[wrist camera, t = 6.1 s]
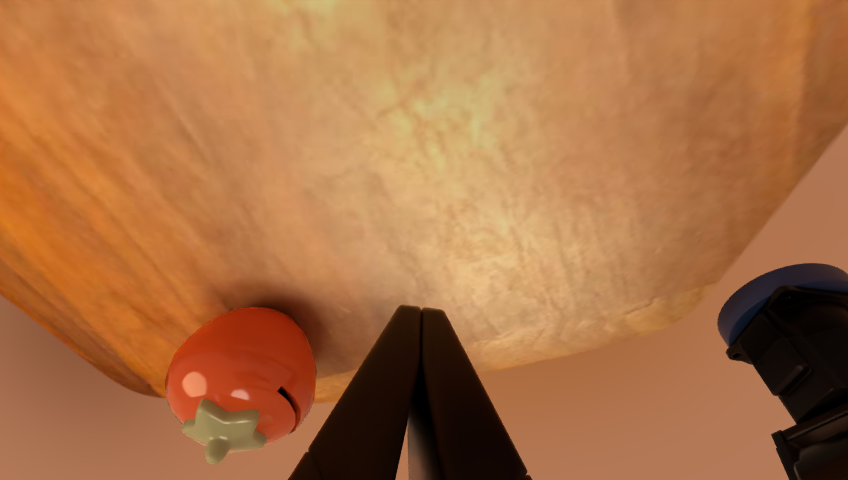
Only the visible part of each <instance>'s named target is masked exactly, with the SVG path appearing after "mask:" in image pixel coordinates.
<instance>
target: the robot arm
mask: <svg viewBox="0 0 848 480" xmlns="http://www.w3.org/2000/svg"><path fill="white" fill-rule="evenodd" d="M726 355H727V356H728V358H729V359H730V360H735V361H744V362H751V363H752V365H753V366H754V367H755V369H756V370H757V372H758V373H759V375H760V376H761V378H762V379H763V381H764V382H765V384H766V385H767V387H768V388H769V390H770V391H771V393H772V394H773V395H775V396H778V397H779V399H780V400H781V402H782V403H783V405H784V406H785V407H786V409H787V410H788V412H789V413H790V415H791V416H792V418H793V419H794V421H795V422H796V425H794V426H792V427H790V428H788V429H786V430H784V431H781V430H779V431H777V432H775V433H773V434H771V435H772V438H773V440H774V442H775V445H776V447H777V448H776V450H777V453H778V455H779V457H780V459H781V462H782V464H783V466H784V469H785V471H786V473H787V475H788V478H789V480H848V292H841V291H832V290H824V289H815V288H807V287H799V286H790V285H783V286H780V287H778V288H777V289H775V290H774V292H773V293H772V294H771V295H770V297H769V298H768V299H767V300H766V302H765V303H764V304H763V305H762V307H761V308H760V309H759V310H758V312H757V313H756V314H755V315H754V316H753V318H752V319H751V320H750V321H749V323H748V324H747V325H746V326H745V328H744V329H743V330H742V331H741V333H740V334H739V335H738V336H737V338H736V339H735V340H734V341H733V343H732V344H731V345H730V346H729V348H728V349H727V350H726ZM407 422H408V469H409V480H532V479H531V477H530V476H529V475H526V474H527V469H526V467H525V465H524V463H523V462H522V460H521V458H520V456H519V454H518V452H517V450H516V448H515V446H514V444H513V442H512V441H511V439H510V437H509V435H508V433H507V431H506V429H505V427H504V425H503V423H502V421H501V419H500V417H499V415H498V414H497V412H496V410H495V408H494V406H493V404H492V402H491V400H490V398H489V396H488V395H487V393H486V391H485V389H484V387H483V385H482V383H481V381H480V379H479V377H478V375H477V373H476V371H475V369H474V368H473V366H472V364H471V362H470V360H469V358H468V356H467V354H466V352H465V350H464V348H463V346H462V345H461V343H460V341H459V339H458V337H457V335H456V333H455V331H454V329H453V327H452V325H451V323H450V321H449V320H448V318H447V316H446V314H445V312H444V311H443V310H440V309H433V308H423V309H422V310H421V308H420V307H417V306H409V305H400V306H399V307H398V308H397V310H396V311H395V313H394V315H393V316H392V318H391V319H390V321H389V322H388V324H387V326H386V327H385V329H384V330H383V332H382V333H381V335H380V337H379V338H378V340H377V341H376V343H375V344H374V346H373V348H372V349H371V351H370V352H369V354H368V355H367V357H366V359H365V360H364V362H363V363H362V365H361V366H360V368H359V370H358V371H357V373H356V374H355V376H354V377H353V379H352V381H351V382H350V384H349V385H348V387H347V388H346V390H345V392H344V393H343V395H342V396H341V398H340V399H339V401H338V403H337V404H336V406H335V407H334V409H333V410H332V412H331V414H330V415H329V417H328V418H327V420H326V421H325V423H324V425H323V426H322V428H321V429H320V431H319V432H318V434H317V436H316V437H315V439H314V440H313V442H312V443H311V445H310V447H309V449H308V452H306V453H305V454H304V456H303V457H302V459H301V460H300V462H299V463H298V465H297V466H296V468H295V470H294V471H293V473H292V474H291V476H290V477H289V479H288V480H395V478H396V473H397V469H398V464H399V460H400V455H401V450H402V446H403V441H404V436H405V432H406V427H407Z"/></svg>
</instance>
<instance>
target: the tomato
mask: <svg viewBox="0 0 848 480" xmlns="http://www.w3.org/2000/svg"><path fill="white" fill-rule="evenodd" d="M316 372H317V370H316V364H315V358H314V354H313V352H312V349H311V347H310V345H309V342H308V340H307V338H306V335H305V333H304V332H303V330H302V329H301V328H300V327H299V326H298V325H297V324H296V323H295V322H294V320H293V319H292V318H291V317H290V316H288V315H286V314H284V313H282V312H280V311H278V310H275V309H272V308H265V307H260V306H258V307H248V308H237V309H235V310H232V311H229V312H227V313H224V314H222V315H220V316H218V317H216V318H214V319H212V320H210V321H209V322H207V323H206V324H205V325H203V326H202V327H201V328H200V329H198V330H197V331H196V332H195V333H194V334H192V335H191V336H190V337H189V338H188V339H187V340H186V341H185V342H184V343H183V344H182V346H181V347H180V348H179V349H178V350H177V352H176V353H175V354H174V356H173V359H172V361H171V364H170V366H169V369H168V372H167V376H166V379H165V393H166V397H167V401H168V404H169V406H170V408H171V410H172V412H173V414H174V415H175V416H176V418H177V419H178V420H179V421H180V422H181V424H183V427H182V432H184V434H185V435H187V436H188V437H190V438H191V439H193V440H195V441H197V442H199V443H200V444H202V445H204V446H206V452H205V460H206V461H207V462H208V463H209V464H212V465H216V464H219V463H220V462H221V461H223V459H224V458H225V457H226V455H227V454H230V453H234V452H242V451H251V450H257V449H260V448H263V447H264V446H265V445H266V444H269V443H273V442H276V441H278V440H279V439H281V438H283V437H285V436H287V435H288V434H290V433H292V432H293V431H295V430H296V428H297V427H298V426H299V425H300V424H301V423H302V421H303V420H304V419H305V417H306V416H307V414H308V413H309V411H310V409H311V406H312V404H313V402H314V399H315V387H316Z"/></svg>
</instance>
